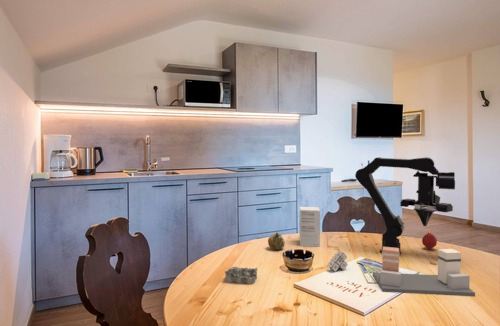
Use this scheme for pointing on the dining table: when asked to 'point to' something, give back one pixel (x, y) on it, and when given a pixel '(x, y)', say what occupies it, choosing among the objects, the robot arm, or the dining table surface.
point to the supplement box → (310, 226)
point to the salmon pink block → (390, 259)
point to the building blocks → (338, 262)
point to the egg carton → (236, 273)
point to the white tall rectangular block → (448, 263)
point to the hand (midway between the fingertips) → (425, 226)
